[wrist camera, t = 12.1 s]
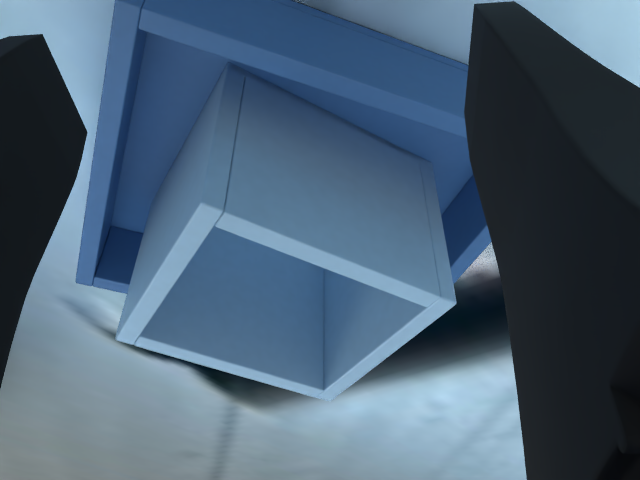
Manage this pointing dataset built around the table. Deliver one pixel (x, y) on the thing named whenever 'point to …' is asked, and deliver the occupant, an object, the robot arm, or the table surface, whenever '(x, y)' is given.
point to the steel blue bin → (282, 71)
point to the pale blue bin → (287, 245)
